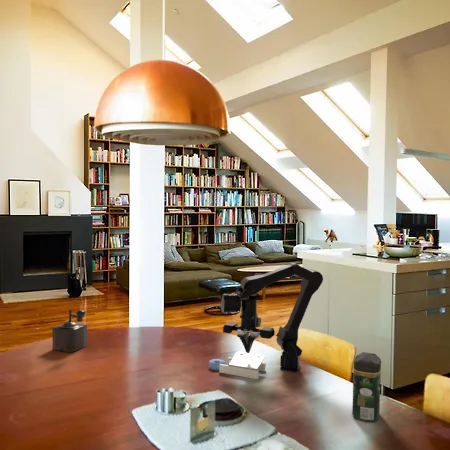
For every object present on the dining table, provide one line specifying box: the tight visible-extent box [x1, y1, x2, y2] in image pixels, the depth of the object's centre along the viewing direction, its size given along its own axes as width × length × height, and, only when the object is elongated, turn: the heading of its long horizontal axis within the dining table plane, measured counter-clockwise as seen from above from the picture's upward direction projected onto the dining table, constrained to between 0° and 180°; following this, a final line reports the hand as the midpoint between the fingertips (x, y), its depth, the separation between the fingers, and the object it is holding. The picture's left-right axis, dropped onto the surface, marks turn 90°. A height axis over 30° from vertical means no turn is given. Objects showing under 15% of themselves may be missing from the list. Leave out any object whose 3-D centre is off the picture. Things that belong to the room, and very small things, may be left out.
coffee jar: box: [351, 351, 382, 422], centre depth 145 cm, size 10×8×19 cm
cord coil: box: [208, 358, 226, 371], centre depth 183 cm, size 6×6×3 cm
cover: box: [229, 351, 266, 369], centre depth 179 cm, size 11×9×1 cm
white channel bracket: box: [218, 356, 267, 380], centre depth 179 cm, size 15×9×3 cm, turn 67°
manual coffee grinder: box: [51, 308, 88, 353], centre depth 202 cm, size 16×11×18 cm
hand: (248, 352), depth 179 cm, fingers closed
